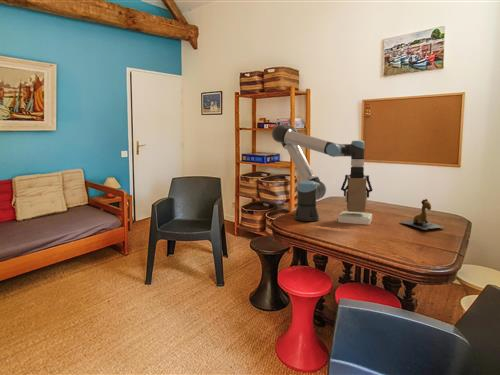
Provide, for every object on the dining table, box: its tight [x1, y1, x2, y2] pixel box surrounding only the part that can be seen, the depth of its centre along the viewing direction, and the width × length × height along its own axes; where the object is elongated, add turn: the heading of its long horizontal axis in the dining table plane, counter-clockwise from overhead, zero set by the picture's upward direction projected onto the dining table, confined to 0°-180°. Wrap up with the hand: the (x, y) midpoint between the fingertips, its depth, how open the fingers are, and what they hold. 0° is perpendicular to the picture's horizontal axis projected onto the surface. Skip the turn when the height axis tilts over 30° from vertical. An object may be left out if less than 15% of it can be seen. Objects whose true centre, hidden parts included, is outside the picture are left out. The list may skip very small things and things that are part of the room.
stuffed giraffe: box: [398, 198, 446, 231], centre depth 196 cm, size 16×18×16 cm
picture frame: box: [337, 210, 373, 226], centre depth 208 cm, size 18×18×4 cm
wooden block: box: [346, 177, 367, 213], centre depth 206 cm, size 10×10×20 cm
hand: (356, 202), depth 207 cm, fingers closed on wooden block, 11 cm apart
